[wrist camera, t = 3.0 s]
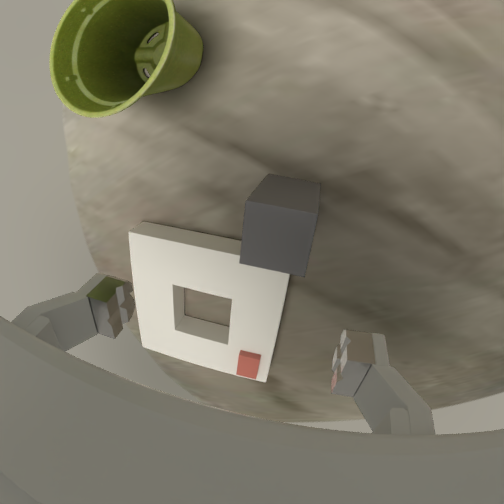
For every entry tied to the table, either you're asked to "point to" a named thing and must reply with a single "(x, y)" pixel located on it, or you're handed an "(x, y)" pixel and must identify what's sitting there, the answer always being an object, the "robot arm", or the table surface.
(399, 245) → the table surface
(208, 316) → the table surface
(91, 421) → the robot arm
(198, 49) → the plant pot
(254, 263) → the plug
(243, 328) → the socket plate
